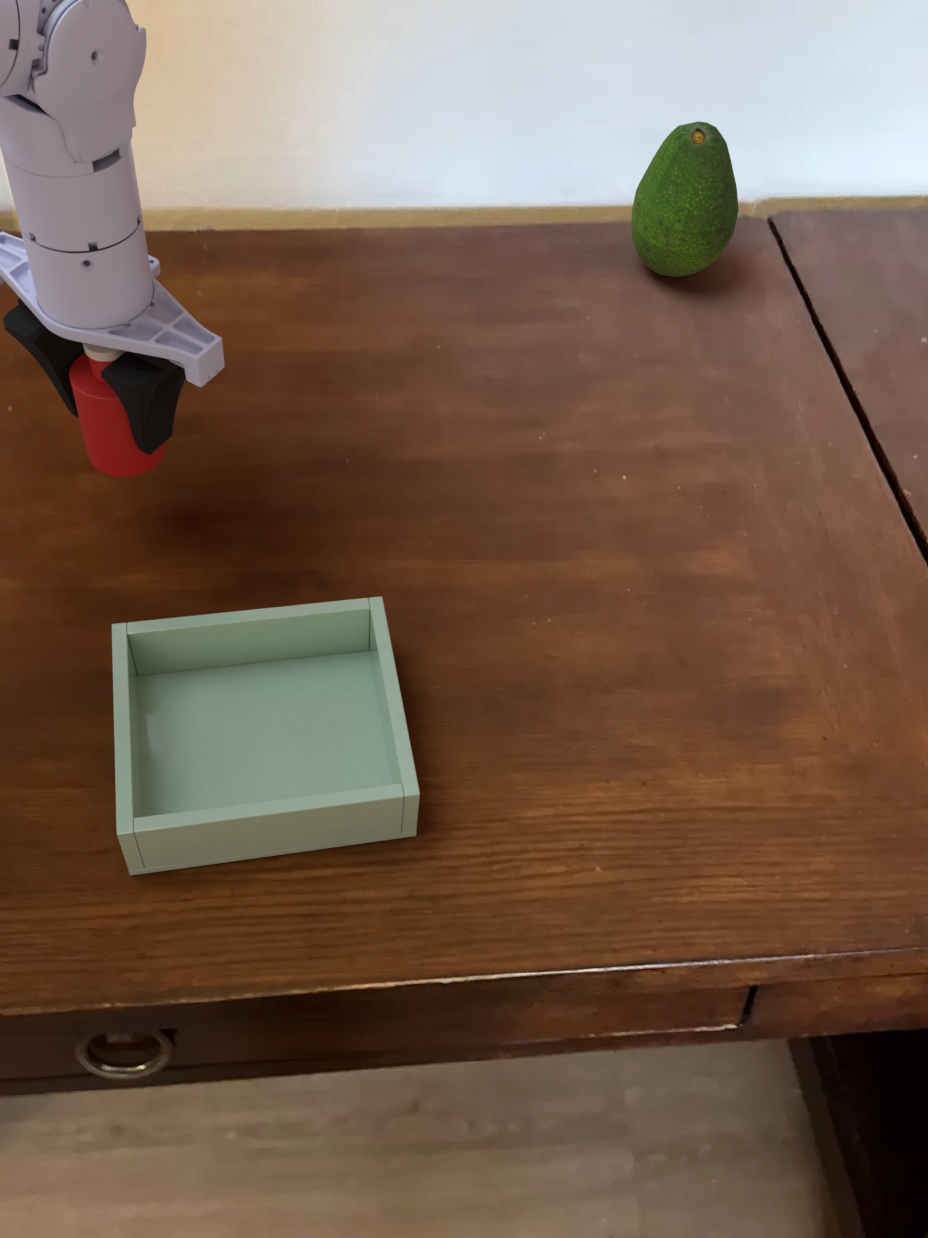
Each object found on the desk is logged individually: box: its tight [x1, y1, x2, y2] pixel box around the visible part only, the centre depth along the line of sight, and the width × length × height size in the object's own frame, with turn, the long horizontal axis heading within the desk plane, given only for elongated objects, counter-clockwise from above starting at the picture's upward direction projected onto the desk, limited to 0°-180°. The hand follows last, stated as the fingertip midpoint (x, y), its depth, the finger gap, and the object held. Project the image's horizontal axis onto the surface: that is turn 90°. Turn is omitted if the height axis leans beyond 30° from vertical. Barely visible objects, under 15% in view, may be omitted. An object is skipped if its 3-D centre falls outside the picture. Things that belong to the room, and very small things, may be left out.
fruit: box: [630, 120, 740, 278], centre depth 90 cm, size 8×8×12 cm
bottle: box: [69, 343, 166, 478], centre depth 67 cm, size 4×4×8 cm
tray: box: [111, 595, 421, 876], centre depth 64 cm, size 15×13×4 cm
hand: (122, 424), depth 69 cm, fingers closed on bottle, 4 cm apart
